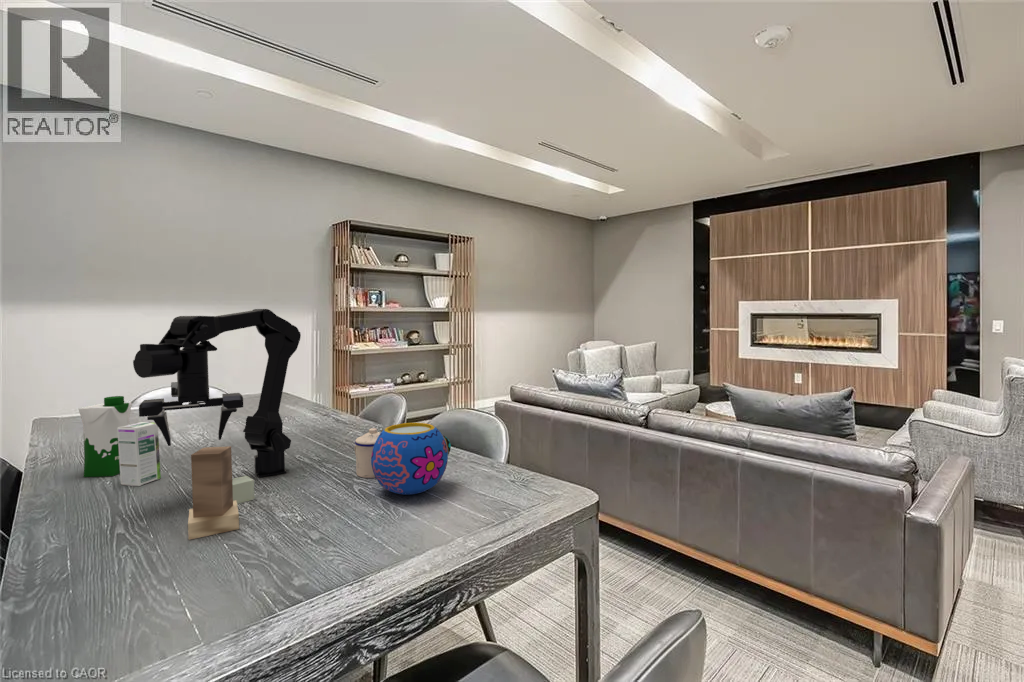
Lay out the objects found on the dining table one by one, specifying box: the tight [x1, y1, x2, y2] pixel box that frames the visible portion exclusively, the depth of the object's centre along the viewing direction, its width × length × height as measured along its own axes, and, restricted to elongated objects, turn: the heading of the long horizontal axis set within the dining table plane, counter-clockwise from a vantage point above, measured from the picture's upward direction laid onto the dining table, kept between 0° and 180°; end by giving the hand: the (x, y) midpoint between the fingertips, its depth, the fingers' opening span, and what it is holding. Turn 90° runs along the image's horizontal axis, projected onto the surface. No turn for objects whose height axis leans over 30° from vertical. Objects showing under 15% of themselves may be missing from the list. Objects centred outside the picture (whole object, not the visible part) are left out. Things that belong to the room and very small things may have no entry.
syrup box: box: [117, 421, 162, 487], centre depth 116 cm, size 6×6×14 cm
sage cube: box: [232, 475, 256, 505], centre depth 105 cm, size 4×4×4 cm
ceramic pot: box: [371, 422, 452, 496], centre depth 109 cm, size 18×18×15 cm
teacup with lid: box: [354, 427, 381, 479], centre depth 123 cm, size 12×9×12 cm
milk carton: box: [78, 395, 132, 478], centre depth 123 cm, size 9×9×20 cm
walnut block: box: [190, 445, 233, 518], centre depth 91 cm, size 5×5×12 cm
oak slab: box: [187, 500, 240, 541], centre depth 91 cm, size 8×8×3 cm
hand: (195, 442), depth 104 cm, fingers open, 9 cm apart
